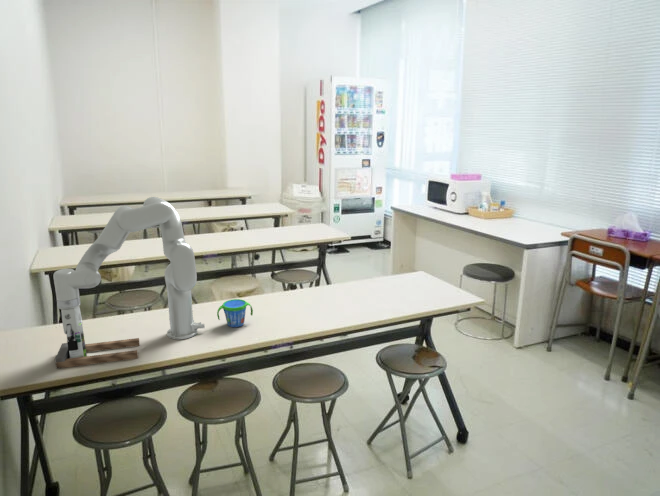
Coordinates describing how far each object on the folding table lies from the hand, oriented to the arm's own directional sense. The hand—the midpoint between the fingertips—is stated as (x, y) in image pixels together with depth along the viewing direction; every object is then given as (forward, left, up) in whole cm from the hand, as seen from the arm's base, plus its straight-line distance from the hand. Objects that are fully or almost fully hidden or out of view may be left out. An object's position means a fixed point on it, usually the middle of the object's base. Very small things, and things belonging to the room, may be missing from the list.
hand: (75, 345), depth 187 cm
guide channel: (-8, 0, -5) cm, 10 cm away
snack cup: (-62, -14, -6) cm, 64 cm away
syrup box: (-1, 0, -6) cm, 6 cm away
